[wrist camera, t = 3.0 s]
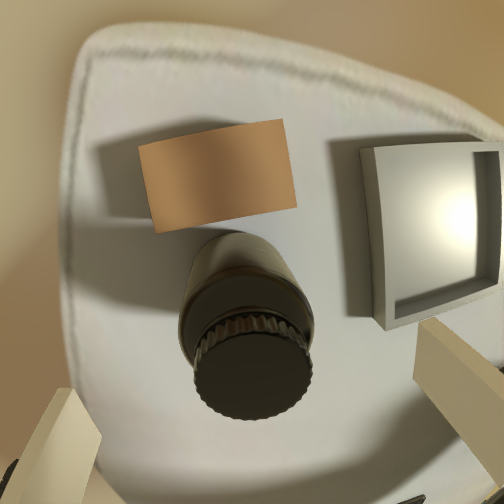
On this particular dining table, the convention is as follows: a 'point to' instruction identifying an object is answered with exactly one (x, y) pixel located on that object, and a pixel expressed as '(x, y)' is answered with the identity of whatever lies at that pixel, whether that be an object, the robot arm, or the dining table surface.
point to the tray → (433, 227)
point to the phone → (415, 500)
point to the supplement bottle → (246, 329)
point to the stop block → (217, 175)
